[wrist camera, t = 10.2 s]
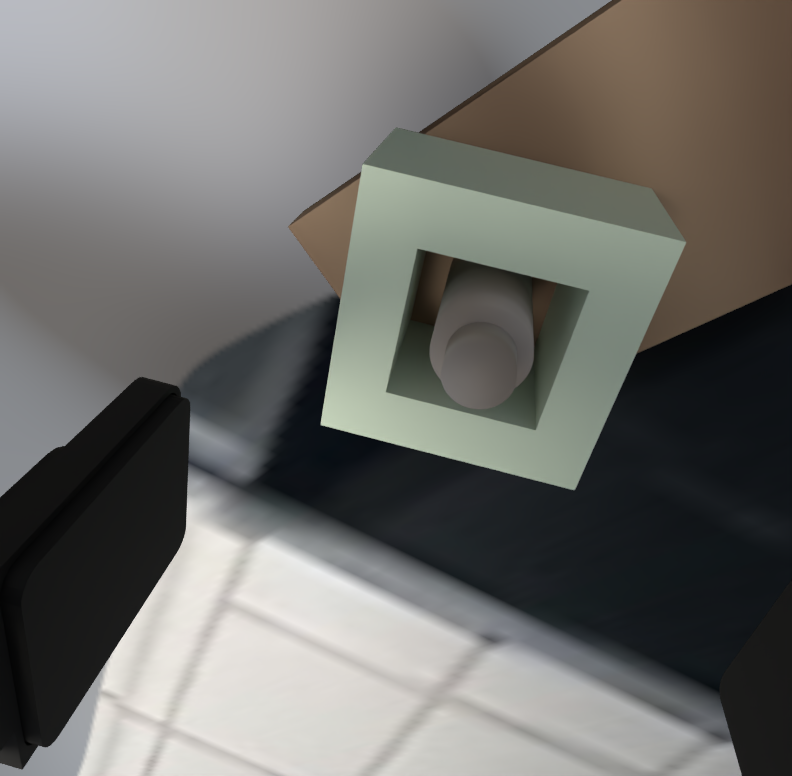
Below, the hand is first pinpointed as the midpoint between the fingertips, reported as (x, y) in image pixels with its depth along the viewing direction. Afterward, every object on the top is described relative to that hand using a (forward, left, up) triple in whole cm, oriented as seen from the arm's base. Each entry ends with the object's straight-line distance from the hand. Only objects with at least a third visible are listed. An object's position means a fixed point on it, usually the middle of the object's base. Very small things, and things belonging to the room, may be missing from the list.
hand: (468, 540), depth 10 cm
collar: (0, +1, -10) cm, 9 cm away
